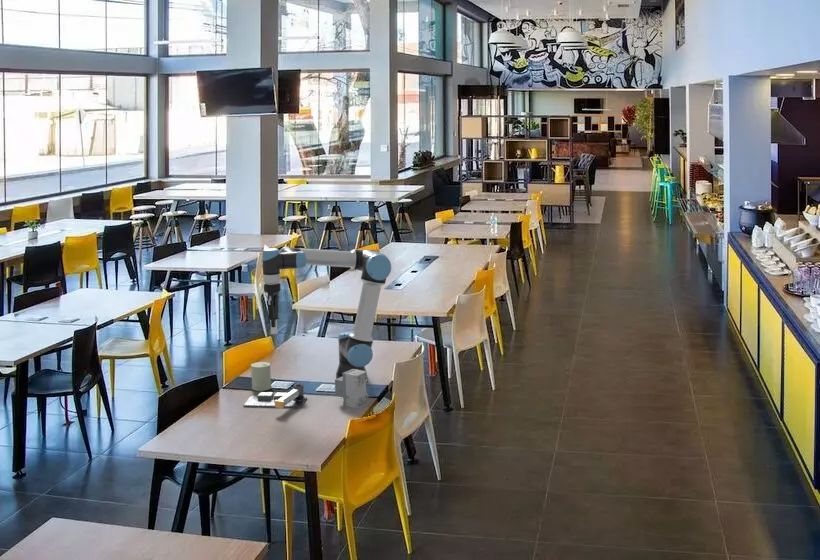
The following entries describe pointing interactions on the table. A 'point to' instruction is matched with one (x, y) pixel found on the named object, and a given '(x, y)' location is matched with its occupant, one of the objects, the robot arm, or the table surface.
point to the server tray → (272, 400)
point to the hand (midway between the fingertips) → (274, 333)
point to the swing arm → (290, 396)
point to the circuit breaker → (352, 388)
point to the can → (261, 376)
